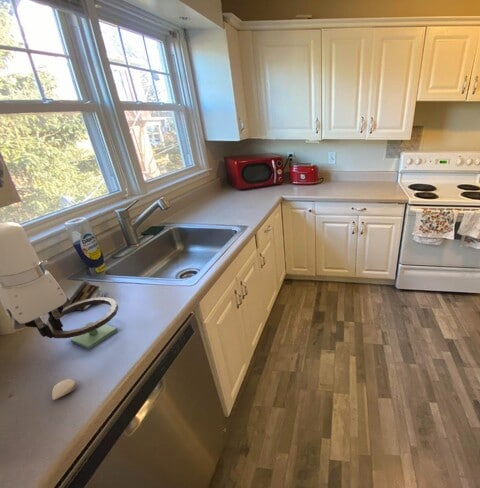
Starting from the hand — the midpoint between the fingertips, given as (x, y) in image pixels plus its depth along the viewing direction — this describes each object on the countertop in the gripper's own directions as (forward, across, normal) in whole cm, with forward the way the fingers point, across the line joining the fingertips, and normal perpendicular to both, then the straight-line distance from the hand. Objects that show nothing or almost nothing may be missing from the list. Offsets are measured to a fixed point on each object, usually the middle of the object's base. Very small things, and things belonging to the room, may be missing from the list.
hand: (53, 333), depth 74 cm
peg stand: (+8, -8, 0) cm, 11 cm away
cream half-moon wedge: (+8, +7, +14) cm, 17 cm away
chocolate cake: (+8, -18, -19) cm, 27 cm away
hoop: (+1, -7, 0) cm, 7 cm away
